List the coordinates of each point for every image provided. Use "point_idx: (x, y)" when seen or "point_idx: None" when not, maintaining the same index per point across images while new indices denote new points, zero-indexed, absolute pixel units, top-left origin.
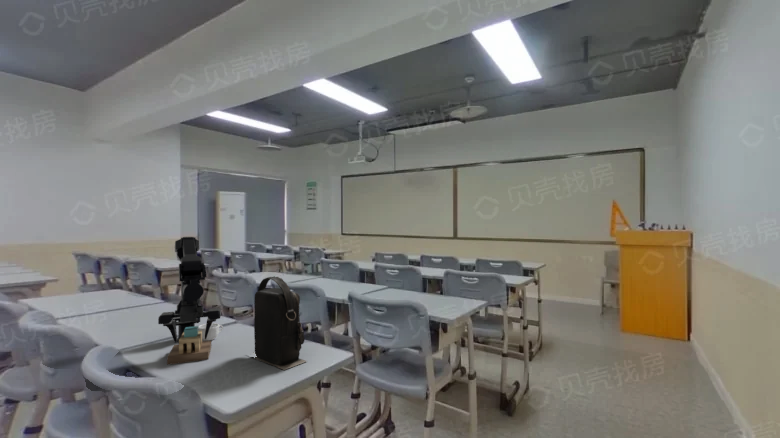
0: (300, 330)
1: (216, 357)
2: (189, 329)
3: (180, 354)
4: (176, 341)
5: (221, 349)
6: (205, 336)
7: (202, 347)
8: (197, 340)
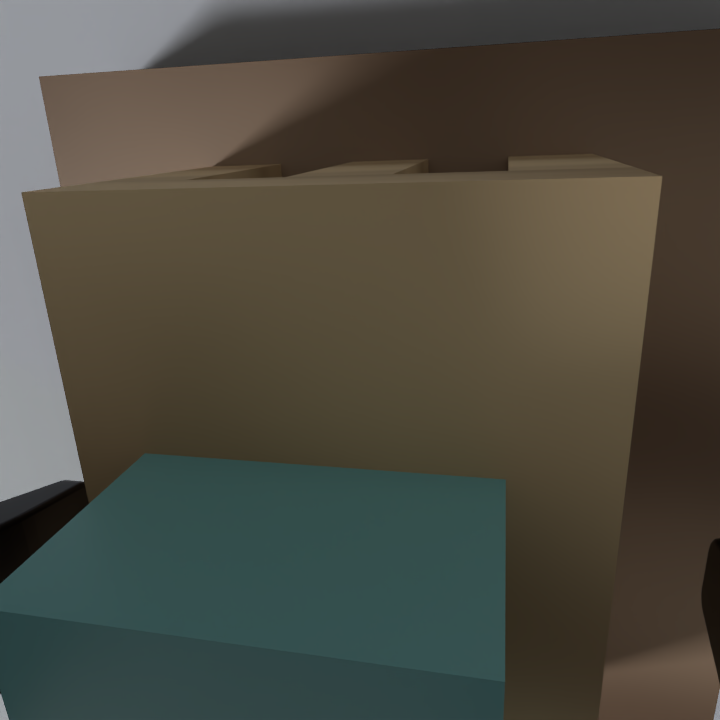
0: None
1: (30, 138)
2: (273, 688)
3: (553, 104)
4: (704, 583)
5: (59, 465)
6: (30, 499)
7: None
8: (103, 185)
